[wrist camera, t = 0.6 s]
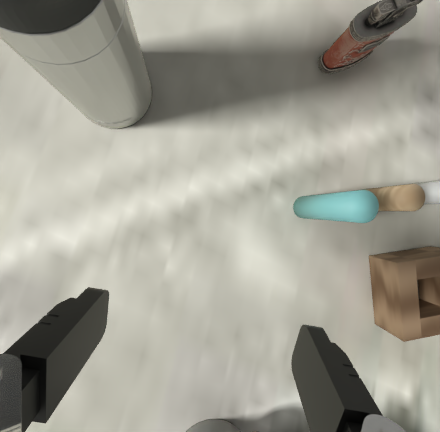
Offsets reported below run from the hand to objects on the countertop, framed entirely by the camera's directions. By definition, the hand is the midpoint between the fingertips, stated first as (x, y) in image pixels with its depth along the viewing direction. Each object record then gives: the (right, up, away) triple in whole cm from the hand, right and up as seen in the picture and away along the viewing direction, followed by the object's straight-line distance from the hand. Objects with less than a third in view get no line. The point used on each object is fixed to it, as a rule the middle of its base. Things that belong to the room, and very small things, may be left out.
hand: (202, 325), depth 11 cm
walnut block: (+27, -6, +27) cm, 39 cm away
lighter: (+18, +27, +25) cm, 41 cm away
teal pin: (+12, +6, +25) cm, 28 cm away
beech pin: (+21, +7, +26) cm, 34 cm away
